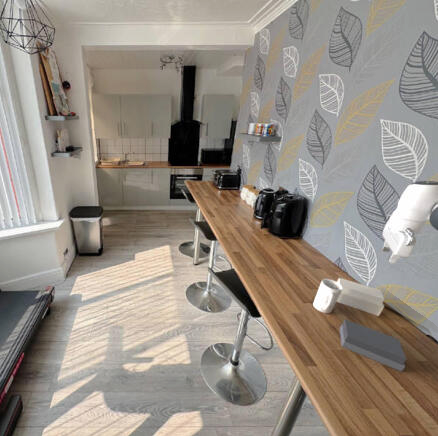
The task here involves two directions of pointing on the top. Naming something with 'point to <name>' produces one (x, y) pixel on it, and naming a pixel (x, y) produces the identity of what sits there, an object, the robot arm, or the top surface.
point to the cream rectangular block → (361, 291)
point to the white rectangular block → (360, 303)
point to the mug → (327, 295)
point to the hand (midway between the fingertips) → (388, 256)
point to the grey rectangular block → (372, 344)
